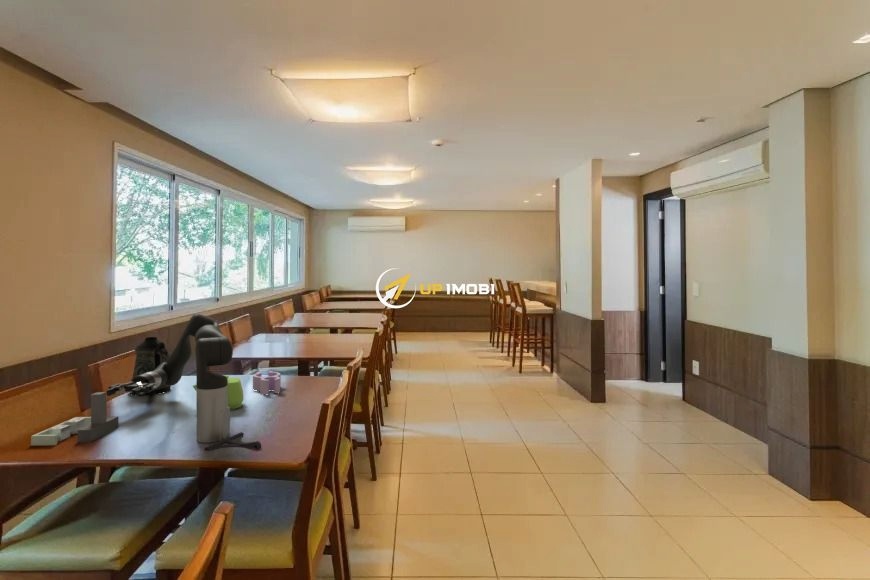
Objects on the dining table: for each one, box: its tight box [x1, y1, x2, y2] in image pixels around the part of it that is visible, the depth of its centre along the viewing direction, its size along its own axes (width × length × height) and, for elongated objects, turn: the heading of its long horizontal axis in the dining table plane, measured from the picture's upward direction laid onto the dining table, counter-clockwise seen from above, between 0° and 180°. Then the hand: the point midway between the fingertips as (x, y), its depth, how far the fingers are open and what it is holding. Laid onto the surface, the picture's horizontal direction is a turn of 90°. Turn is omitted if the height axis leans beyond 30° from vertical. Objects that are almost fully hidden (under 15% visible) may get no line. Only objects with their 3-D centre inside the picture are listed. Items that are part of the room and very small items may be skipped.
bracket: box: [204, 431, 262, 451], centre depth 142 cm, size 14×15×3 cm
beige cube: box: [63, 417, 85, 435], centre depth 152 cm, size 4×4×4 cm
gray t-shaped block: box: [77, 391, 120, 443], centre depth 150 cm, size 4×14×14 cm, turn 4°
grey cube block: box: [47, 424, 71, 442], centre depth 145 cm, size 4×4×4 cm
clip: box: [252, 370, 282, 395], centre depth 211 cm, size 20×12×7 cm, turn 31°
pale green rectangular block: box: [30, 416, 91, 446], centre depth 149 cm, size 7×19×3 cm, turn 4°
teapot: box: [192, 374, 244, 411], centre depth 182 cm, size 18×20×13 cm
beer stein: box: [129, 336, 171, 397], centre depth 206 cm, size 16×19×25 cm
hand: (120, 393), depth 161 cm, fingers open, 8 cm apart
